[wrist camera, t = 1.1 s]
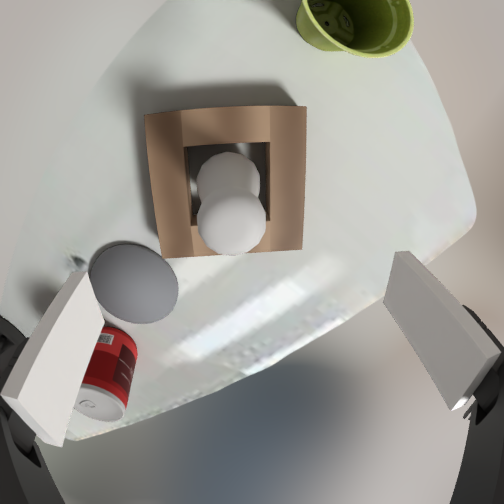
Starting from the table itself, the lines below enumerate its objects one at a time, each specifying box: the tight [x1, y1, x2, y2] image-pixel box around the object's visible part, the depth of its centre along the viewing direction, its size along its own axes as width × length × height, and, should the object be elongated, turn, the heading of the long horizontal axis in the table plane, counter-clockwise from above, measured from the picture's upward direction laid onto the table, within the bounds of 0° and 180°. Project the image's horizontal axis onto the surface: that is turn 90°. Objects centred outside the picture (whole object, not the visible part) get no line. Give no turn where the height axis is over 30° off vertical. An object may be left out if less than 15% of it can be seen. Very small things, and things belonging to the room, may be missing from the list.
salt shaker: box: [197, 151, 266, 256], centre depth 23 cm, size 6×6×13 cm
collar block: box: [144, 106, 307, 259], centre depth 28 cm, size 14×14×3 cm
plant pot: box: [296, 0, 414, 58], centre depth 18 cm, size 9×9×9 cm
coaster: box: [90, 244, 178, 324], centre depth 33 cm, size 11×11×1 cm
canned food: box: [73, 327, 137, 422], centre depth 33 cm, size 8×8×11 cm
